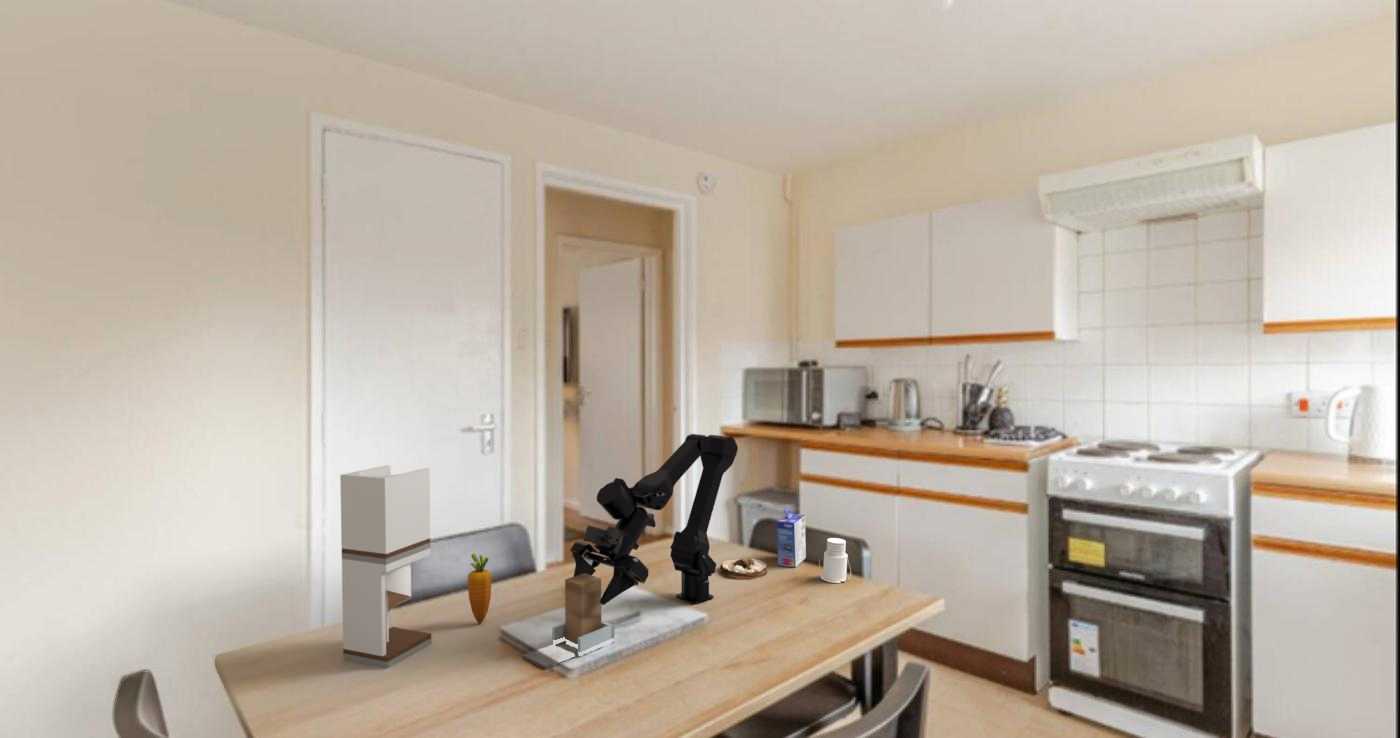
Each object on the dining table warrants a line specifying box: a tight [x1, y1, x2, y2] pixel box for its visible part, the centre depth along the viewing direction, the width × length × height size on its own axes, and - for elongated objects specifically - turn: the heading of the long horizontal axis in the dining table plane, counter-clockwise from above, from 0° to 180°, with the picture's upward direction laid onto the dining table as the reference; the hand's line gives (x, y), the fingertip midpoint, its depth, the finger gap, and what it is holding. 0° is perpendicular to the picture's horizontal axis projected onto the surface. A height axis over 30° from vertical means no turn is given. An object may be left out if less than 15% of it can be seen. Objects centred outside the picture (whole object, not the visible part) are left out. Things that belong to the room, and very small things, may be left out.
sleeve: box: [522, 619, 615, 670], centre depth 137 cm, size 16×9×4 cm, turn 139°
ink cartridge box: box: [776, 507, 807, 568], centre depth 192 cm, size 10×6×14 cm, turn 155°
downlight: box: [818, 537, 852, 584], centre depth 178 cm, size 8×7×10 cm
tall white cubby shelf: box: [339, 464, 432, 669], centre depth 136 cm, size 11×11×35 cm
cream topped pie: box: [719, 557, 769, 580], centre depth 184 cm, size 15×15×4 cm
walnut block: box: [564, 573, 602, 644], centre depth 139 cm, size 5×5×13 cm
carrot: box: [467, 553, 492, 625], centre depth 149 cm, size 5×5×15 cm
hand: (586, 598), depth 140 cm, fingers open, 9 cm apart
